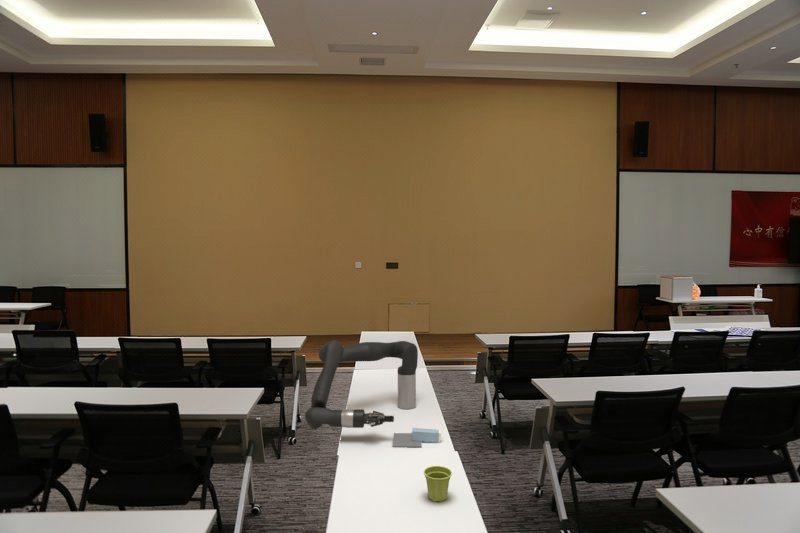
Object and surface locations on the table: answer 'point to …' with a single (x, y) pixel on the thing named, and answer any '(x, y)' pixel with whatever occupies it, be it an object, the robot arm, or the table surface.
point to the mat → (405, 441)
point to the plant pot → (437, 482)
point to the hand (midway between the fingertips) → (393, 418)
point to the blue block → (426, 435)
